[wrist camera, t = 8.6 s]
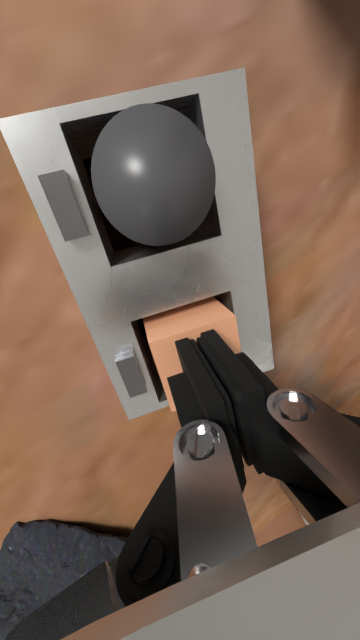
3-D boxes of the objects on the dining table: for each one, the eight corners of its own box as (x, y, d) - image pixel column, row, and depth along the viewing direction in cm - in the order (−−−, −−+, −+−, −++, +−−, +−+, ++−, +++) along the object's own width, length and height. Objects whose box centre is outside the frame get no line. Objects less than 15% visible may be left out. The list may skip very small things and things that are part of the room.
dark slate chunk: (177, 523, 25) (189, 585, 21) (89, 643, 30) (84, 714, 26) (14, 504, 20) (-15, 582, 16) (-62, 655, 25) (-100, 746, 21)
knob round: (170, 140, 12) (202, 90, 7) (188, 225, 13) (224, 229, 9) (89, 160, 11) (69, 119, 7) (117, 245, 13) (116, 259, 8)
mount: (200, 121, 13) (253, 56, 8) (235, 330, 18) (280, 374, 13) (42, 157, 12) (-14, 111, 7) (126, 366, 17) (129, 429, 12)
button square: (199, 285, 14) (235, 315, 10) (210, 338, 16) (246, 385, 11) (139, 303, 14) (148, 343, 10) (156, 356, 16) (171, 412, 11)
